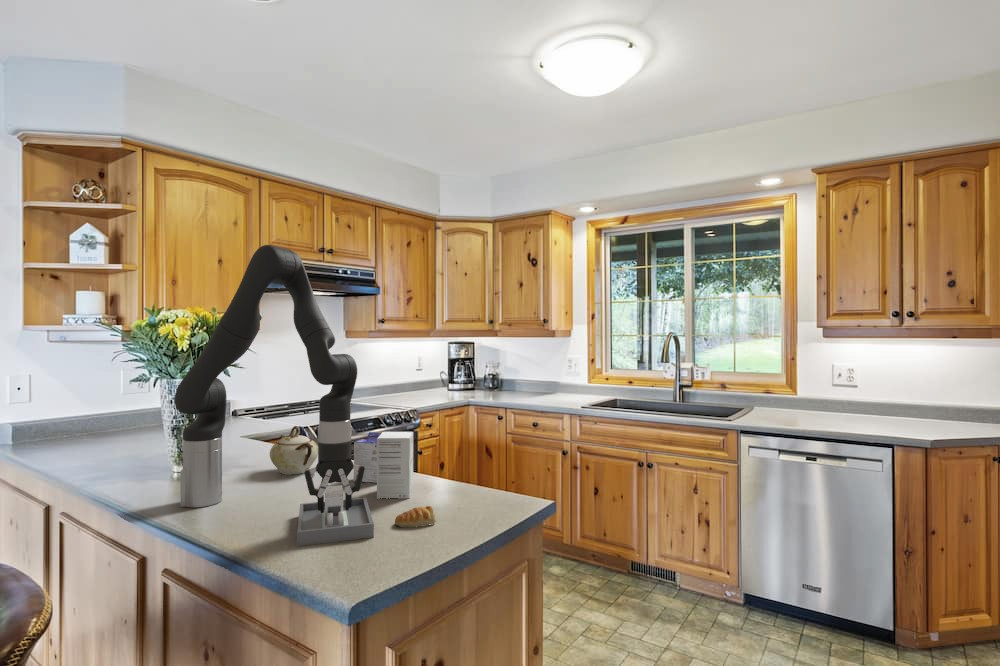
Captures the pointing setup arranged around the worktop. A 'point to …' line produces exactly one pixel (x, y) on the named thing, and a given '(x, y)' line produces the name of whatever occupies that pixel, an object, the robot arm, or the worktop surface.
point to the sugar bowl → (293, 453)
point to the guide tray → (349, 525)
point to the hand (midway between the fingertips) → (334, 510)
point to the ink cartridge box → (367, 457)
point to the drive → (333, 502)
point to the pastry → (416, 517)
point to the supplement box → (394, 465)
